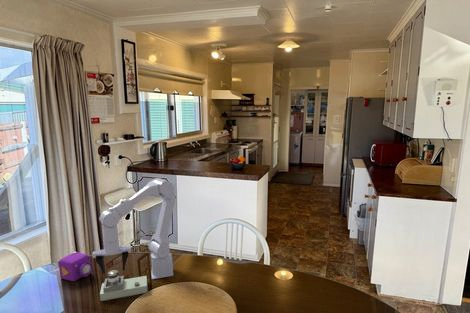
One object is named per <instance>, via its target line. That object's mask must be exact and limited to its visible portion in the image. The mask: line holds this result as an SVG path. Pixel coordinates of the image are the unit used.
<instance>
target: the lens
mask: <svg viewBox="0 0 470 313" xmlns="http://www.w3.org/2000/svg"><path fill="white" fill-rule="evenodd" d="M119 276H120V275H119V270H116V269H113V270H109V271H108V272H107V278H108V283H109V286H114V285H119Z"/></svg>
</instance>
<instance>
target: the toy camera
mask: <svg viewBox="0 0 470 313" xmlns="http://www.w3.org/2000/svg"><path fill="white" fill-rule="evenodd" d="M58 268H59V275H60V278H61V279H64V280H67V281H69V282H76V281H78V280H80V279H81V278H85V277H86V278H87V277H88V276H89V275H90V274H91V273H92V271H93V263H92V262H90V257H89V255H88V254H86V253H83V252H78V251H73V252H72V253H70V254H68V255H66V256H64V257H62V258H60V259H59V261H58Z"/></svg>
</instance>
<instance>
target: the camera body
mask: <svg viewBox="0 0 470 313" xmlns="http://www.w3.org/2000/svg"><path fill="white" fill-rule="evenodd" d="M118 276H119V285H114V286H109V283H108V277H107V278H105V279H104V282H102V284H101V288H100V292H99V300H100V302H102V301H103V302H104V301H109V300H114V299H120V298H125V297H130V296H136V295H141V294H147V293H148V278H147V277H148V276H147V275H143V276H142V275H141V276H137V277H131V278H124V277H125V276H124V275H118ZM146 292H147V293H146Z"/></svg>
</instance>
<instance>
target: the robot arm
mask: <svg viewBox="0 0 470 313" xmlns="http://www.w3.org/2000/svg"><path fill="white" fill-rule="evenodd" d="M150 196H159V197H160V198H161V199H162V203H161V208H160V212H159V216H158V221H157V225H156V228H155V233H154V234H153V235H152V236H151V239H150V241H149V243H148V245H147V248H148V251H149V252H150V259H151V260H150V261H151V272H150V273H151V274H150V275H151V280H158V279H162V278H163V279H164V278H167V277H173V276H174V265H173V264H174V263H173V254H172V253H171V252H170V250H171V249H170V239H169V237H168V235H169V231H170V225H171V221H172V217H173V212H174V206H175V202H176V194H175V186H174V184H173V183H172V182H171V181H168V180H165V179H163V178H160V177H156V178H153V179H152V180H150V181H149V182H148V183H147V184H146V185H145V186H144V187H142V189H140V190H138V192H136V193H135V194H133V195H132V196H131V197H129V198H124V199H120V200H119V202H118V203H116V204H115V205H113V206H112V207H109V208H108V209H107V210H104V211H102V212H101V214H100V215H99V218H98V221H99V222H100V223H101V227H102V228H101V229H102V240H103V249H99V250H95V251H93V252H92V259H95V262H96V264H98V266H99V267H100V269H101V272H102V274H103V275H104V274H105V273H106V266H105V257H106V256H114V255H119V254H121V260H122V271H125V270H126V262H127V259H128V257H129V253H132V246H130V245H128V246H120V239H119V229H118V224H119V222H120V220H121V219H122V218H123V217H125V216H127V215H128V214H130V212H132V211H133V210H134V209H135V208H134V207H135V205H137V204H140V202H142V201H143V200H145V199H146V198H148V197H150Z"/></svg>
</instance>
